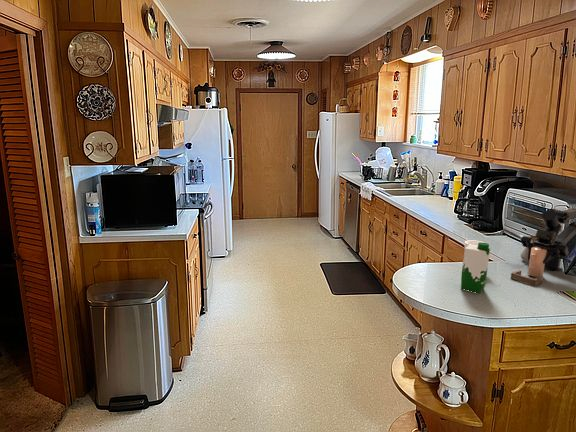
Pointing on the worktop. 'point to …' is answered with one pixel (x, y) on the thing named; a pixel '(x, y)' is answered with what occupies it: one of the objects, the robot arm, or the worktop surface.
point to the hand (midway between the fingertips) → (535, 261)
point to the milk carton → (475, 267)
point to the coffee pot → (525, 252)
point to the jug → (537, 261)
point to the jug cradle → (525, 278)
